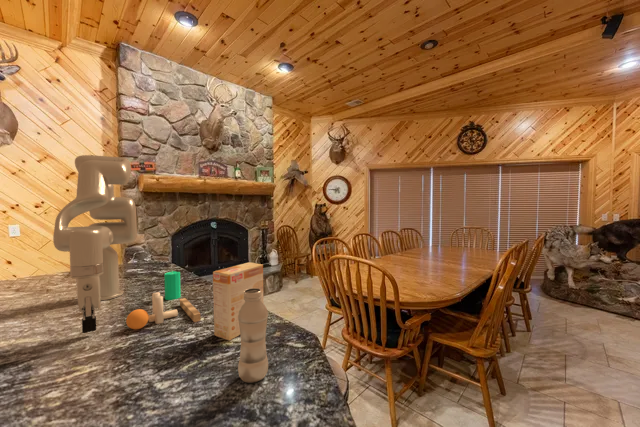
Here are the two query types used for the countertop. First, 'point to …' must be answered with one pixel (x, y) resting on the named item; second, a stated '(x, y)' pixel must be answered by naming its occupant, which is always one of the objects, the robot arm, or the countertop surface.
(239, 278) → the coffeecake box
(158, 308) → the back pin near
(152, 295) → the back pin far
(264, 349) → the plastic bottle
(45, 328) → the countertop surface
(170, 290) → the candle
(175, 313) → the front pin
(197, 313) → the back wall
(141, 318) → the ball
